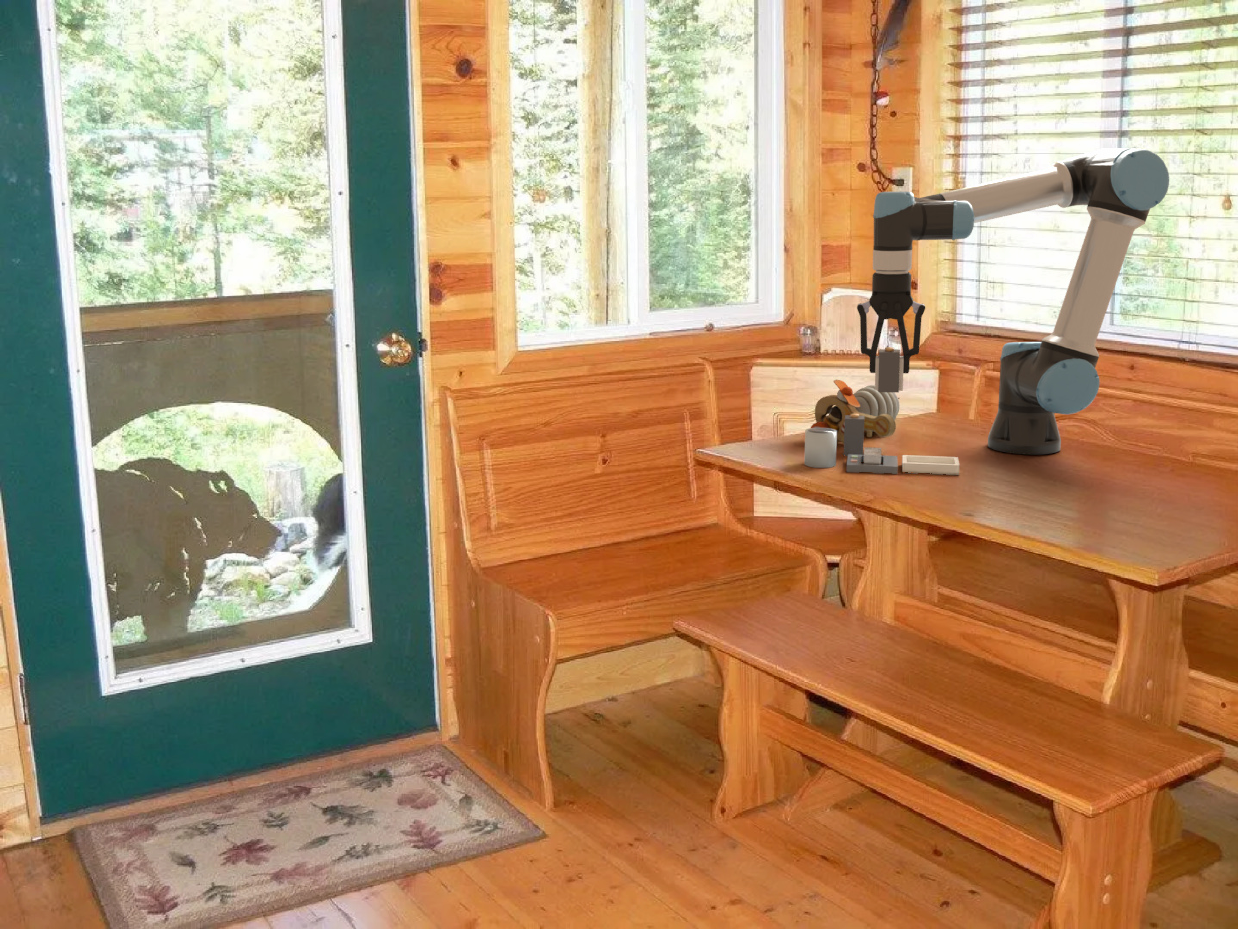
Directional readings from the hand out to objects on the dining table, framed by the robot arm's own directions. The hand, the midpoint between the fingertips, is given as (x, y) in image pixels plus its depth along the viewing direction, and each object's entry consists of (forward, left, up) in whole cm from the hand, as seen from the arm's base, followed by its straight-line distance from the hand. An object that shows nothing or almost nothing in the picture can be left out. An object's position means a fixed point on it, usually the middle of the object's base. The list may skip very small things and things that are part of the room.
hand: (888, 389), depth 282 cm
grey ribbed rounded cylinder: (+3, -35, -16) cm, 39 cm away
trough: (-9, 0, -16) cm, 18 cm away
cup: (+13, -1, -16) cm, 21 cm away
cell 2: (0, 0, 0) cm, 0 cm away
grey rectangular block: (+3, 0, -15) cm, 15 cm away
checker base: (+3, 0, -16) cm, 16 cm away
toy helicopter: (+8, -21, -16) cm, 27 cm away
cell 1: (+7, -12, -16) cm, 21 cm away
